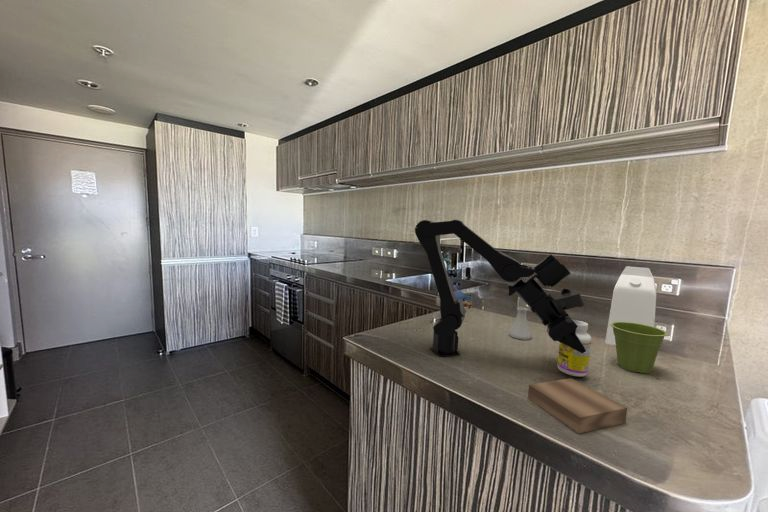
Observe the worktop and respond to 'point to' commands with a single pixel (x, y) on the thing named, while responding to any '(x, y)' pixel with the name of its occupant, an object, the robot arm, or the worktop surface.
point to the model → (463, 297)
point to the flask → (521, 326)
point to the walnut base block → (577, 405)
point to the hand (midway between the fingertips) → (580, 347)
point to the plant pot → (637, 345)
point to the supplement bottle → (575, 353)
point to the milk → (633, 300)
